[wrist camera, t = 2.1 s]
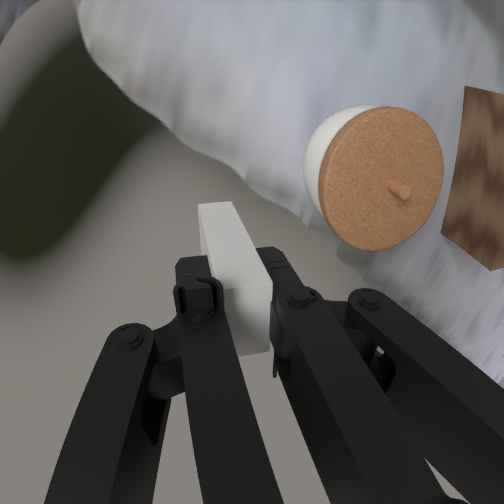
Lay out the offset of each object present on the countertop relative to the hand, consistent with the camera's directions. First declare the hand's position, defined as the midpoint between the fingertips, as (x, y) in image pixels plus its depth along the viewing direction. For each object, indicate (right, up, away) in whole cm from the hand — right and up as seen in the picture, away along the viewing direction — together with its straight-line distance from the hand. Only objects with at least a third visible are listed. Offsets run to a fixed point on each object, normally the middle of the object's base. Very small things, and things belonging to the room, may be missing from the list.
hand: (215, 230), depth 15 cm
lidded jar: (+9, +8, +12) cm, 17 cm away
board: (+26, +9, +16) cm, 32 cm away
